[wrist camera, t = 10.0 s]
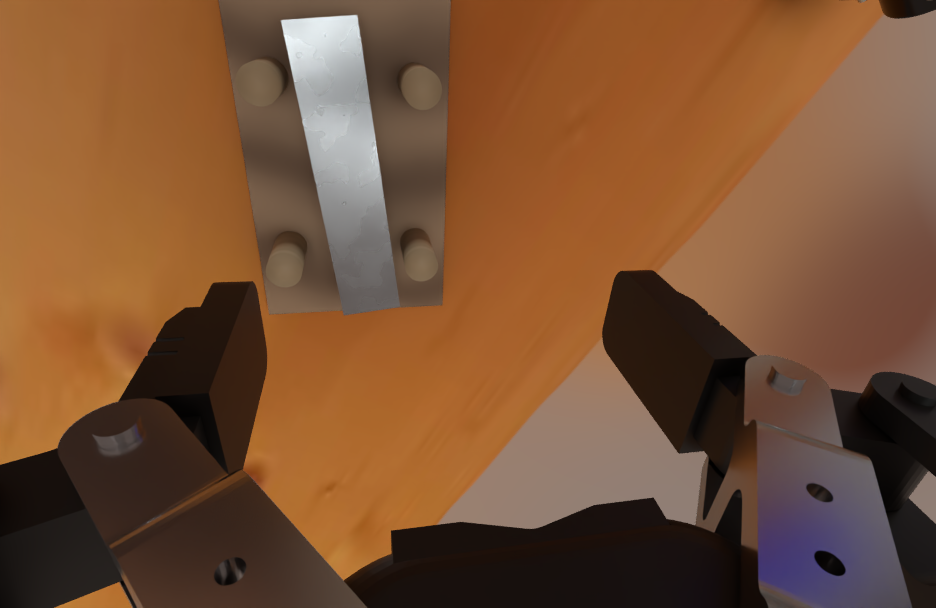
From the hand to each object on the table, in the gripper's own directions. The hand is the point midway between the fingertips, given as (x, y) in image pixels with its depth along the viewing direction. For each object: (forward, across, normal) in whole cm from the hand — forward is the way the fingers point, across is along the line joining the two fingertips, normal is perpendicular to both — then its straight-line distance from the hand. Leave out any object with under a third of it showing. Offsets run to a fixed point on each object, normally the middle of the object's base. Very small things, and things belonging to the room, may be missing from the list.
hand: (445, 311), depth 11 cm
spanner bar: (+22, +2, +3) cm, 23 cm away
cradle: (+23, +2, +3) cm, 24 cm away
